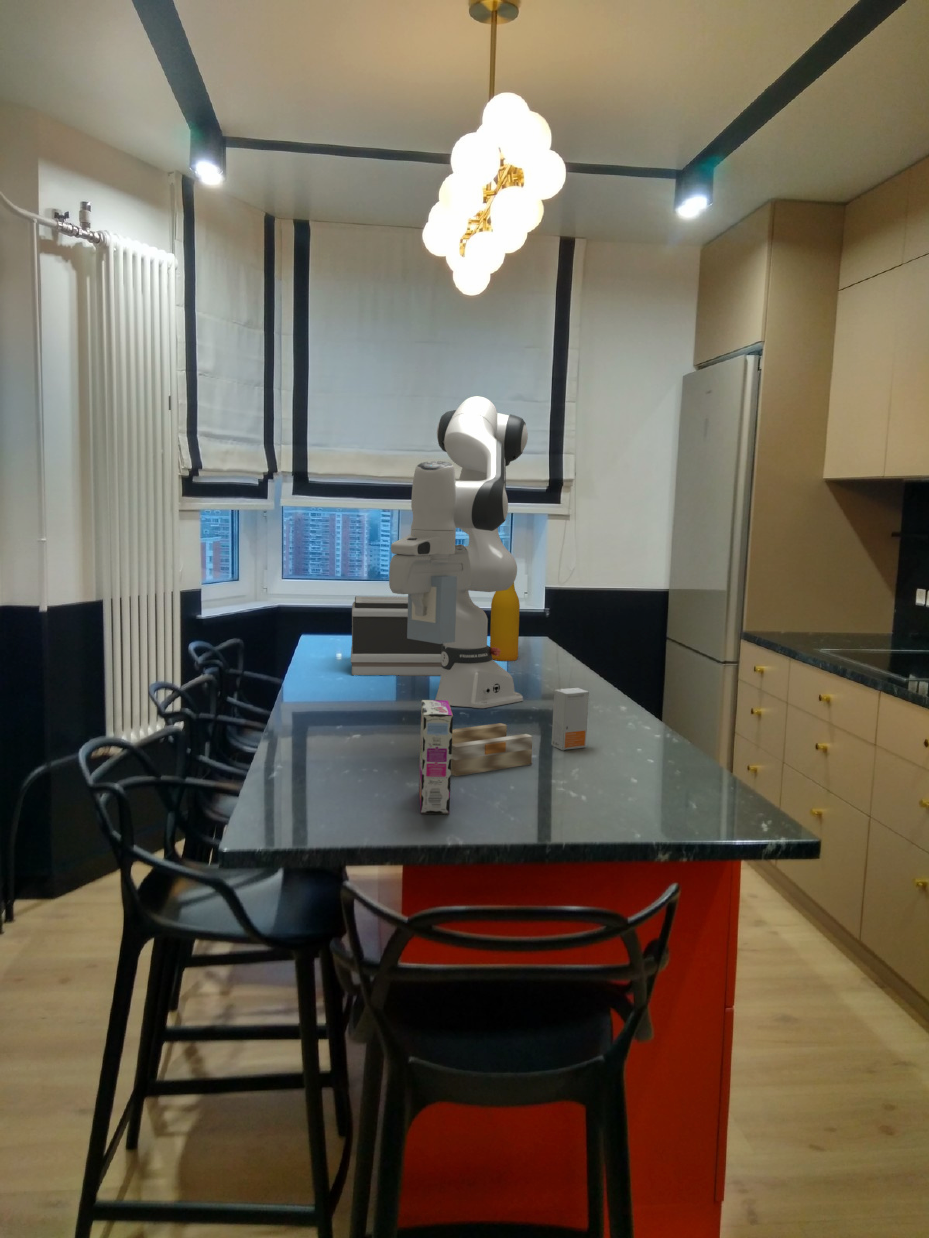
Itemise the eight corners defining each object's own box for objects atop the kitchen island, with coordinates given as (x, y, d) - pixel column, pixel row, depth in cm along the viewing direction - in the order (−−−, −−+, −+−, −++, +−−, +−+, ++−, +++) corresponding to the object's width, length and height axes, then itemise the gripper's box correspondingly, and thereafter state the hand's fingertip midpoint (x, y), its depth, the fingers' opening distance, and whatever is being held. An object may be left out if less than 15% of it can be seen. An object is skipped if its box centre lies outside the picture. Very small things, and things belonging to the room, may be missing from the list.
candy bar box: (451, 814, 138) (454, 714, 136) (420, 814, 138) (422, 714, 135) (447, 791, 149) (449, 698, 147) (418, 791, 149) (420, 698, 146)
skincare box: (562, 751, 175) (565, 693, 174) (551, 745, 179) (553, 689, 177) (587, 747, 178) (589, 691, 176) (575, 742, 182) (577, 687, 180)
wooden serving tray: (500, 749, 175) (501, 723, 174) (532, 764, 166) (533, 736, 165) (426, 760, 167) (427, 732, 166) (455, 776, 157) (456, 747, 156)
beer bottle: (487, 660, 274) (490, 569, 270) (491, 655, 283) (494, 567, 279) (516, 662, 272) (519, 570, 269) (519, 657, 282) (522, 568, 278)
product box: (422, 636, 176) (424, 573, 174) (454, 641, 170) (457, 576, 169) (406, 638, 173) (408, 573, 171) (439, 644, 167) (441, 577, 165)
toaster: (469, 676, 248) (471, 604, 246) (350, 676, 244) (350, 603, 241) (462, 664, 267) (463, 597, 264) (350, 664, 262) (351, 595, 260)
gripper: (456, 543, 179) (454, 609, 181) (384, 544, 164) (383, 616, 165) (479, 544, 175) (477, 612, 176) (407, 546, 159) (406, 620, 161)
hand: (431, 614), depth 171 cm, fingers closed on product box, 5 cm apart
